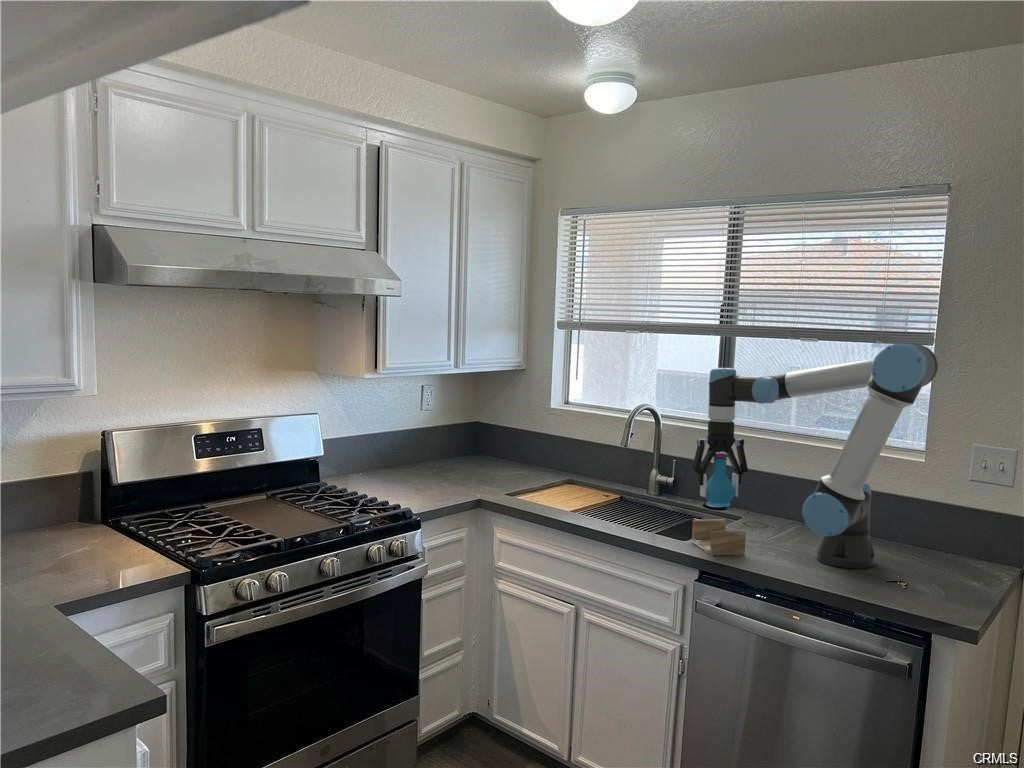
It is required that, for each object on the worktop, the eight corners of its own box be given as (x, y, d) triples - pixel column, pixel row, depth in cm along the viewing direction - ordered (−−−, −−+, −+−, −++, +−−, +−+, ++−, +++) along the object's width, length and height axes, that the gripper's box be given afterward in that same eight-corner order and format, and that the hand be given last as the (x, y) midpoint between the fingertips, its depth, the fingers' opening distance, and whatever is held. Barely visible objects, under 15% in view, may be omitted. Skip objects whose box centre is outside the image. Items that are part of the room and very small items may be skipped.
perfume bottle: (733, 501, 227) (735, 452, 226) (736, 508, 218) (737, 457, 217) (702, 500, 229) (703, 451, 228) (703, 506, 220) (704, 455, 219)
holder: (744, 555, 217) (745, 531, 217) (712, 556, 216) (712, 532, 216) (722, 541, 232) (723, 519, 232) (692, 542, 231) (692, 519, 230)
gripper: (750, 418, 227) (748, 492, 229) (681, 419, 224) (679, 493, 225) (762, 421, 220) (759, 497, 221) (690, 421, 217) (688, 499, 218)
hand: (719, 495), depth 223 cm, fingers closed on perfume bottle, 9 cm apart
